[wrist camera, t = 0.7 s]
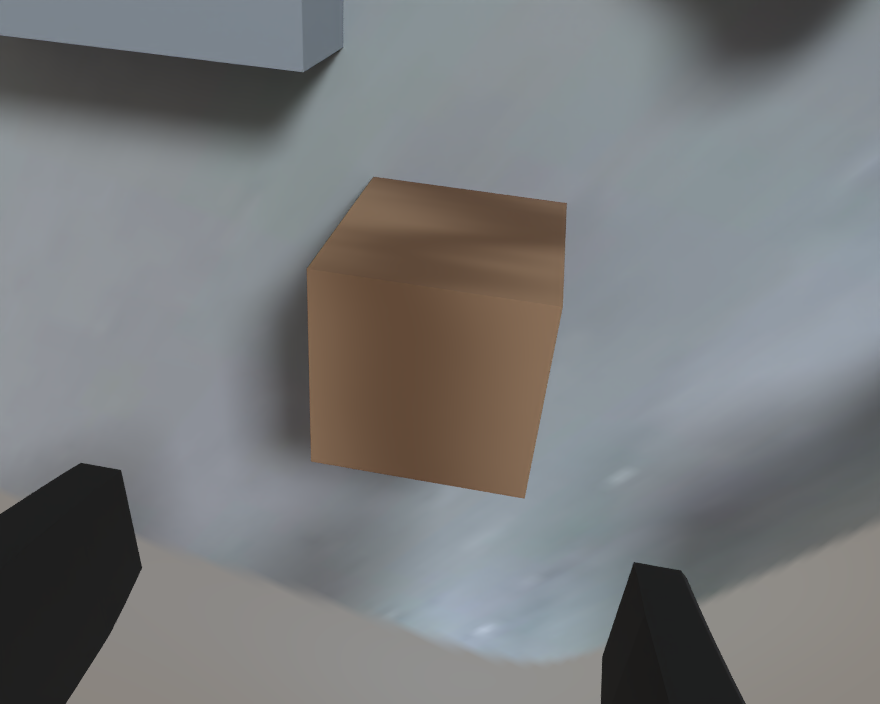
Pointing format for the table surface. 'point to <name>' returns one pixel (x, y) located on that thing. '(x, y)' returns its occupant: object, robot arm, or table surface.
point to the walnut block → (435, 334)
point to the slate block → (188, 28)
